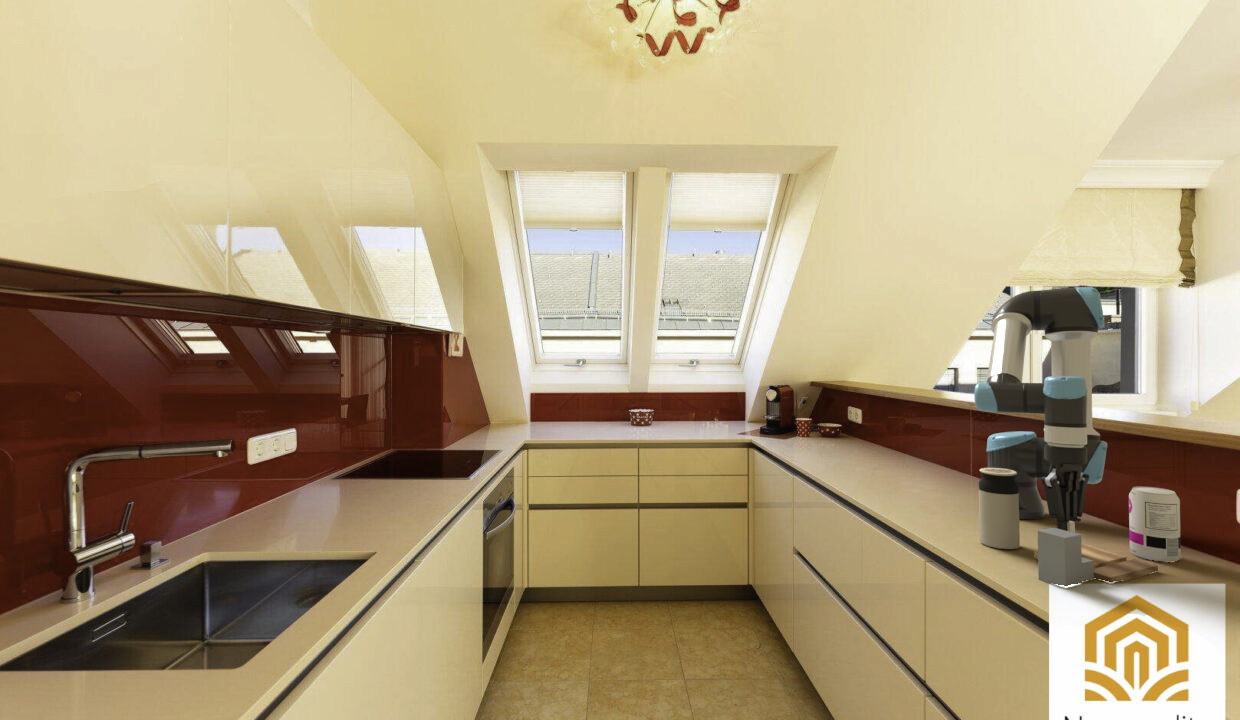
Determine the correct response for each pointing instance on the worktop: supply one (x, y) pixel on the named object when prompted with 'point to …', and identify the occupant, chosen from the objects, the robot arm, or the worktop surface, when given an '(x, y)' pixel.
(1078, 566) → the block
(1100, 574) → the laid row
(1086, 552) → the plank
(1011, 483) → the travel mug
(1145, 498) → the supplement can
